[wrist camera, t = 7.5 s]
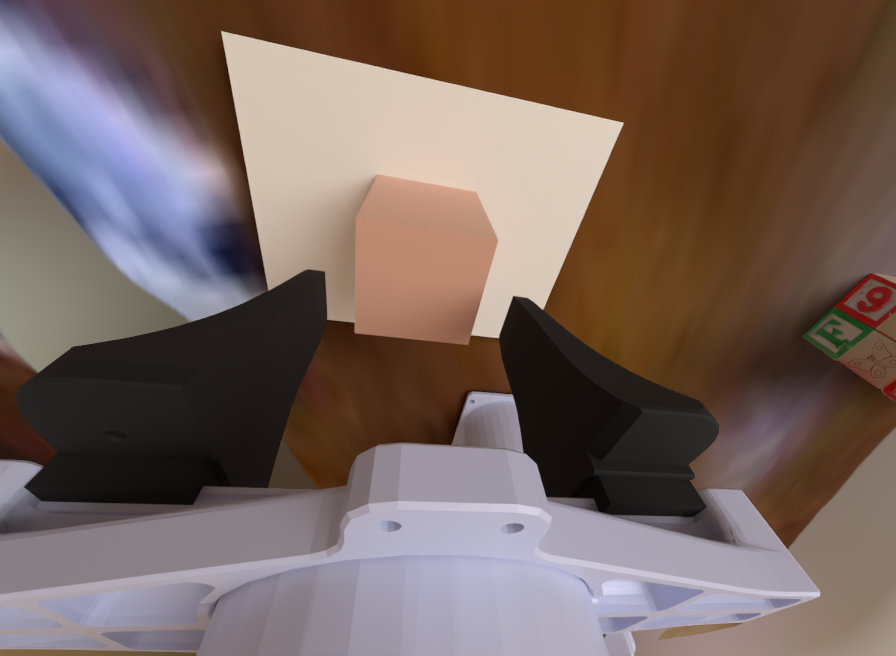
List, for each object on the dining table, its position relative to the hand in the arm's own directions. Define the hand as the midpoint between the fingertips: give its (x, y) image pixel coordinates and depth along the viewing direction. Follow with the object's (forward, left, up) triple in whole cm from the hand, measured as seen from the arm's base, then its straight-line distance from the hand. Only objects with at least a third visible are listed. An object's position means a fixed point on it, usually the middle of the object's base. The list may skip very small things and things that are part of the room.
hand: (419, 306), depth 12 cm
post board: (0, 0, -9) cm, 9 cm away
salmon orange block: (0, 0, -8) cm, 8 cm away
